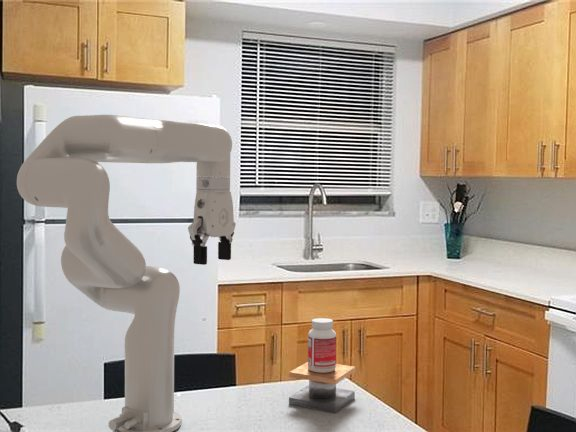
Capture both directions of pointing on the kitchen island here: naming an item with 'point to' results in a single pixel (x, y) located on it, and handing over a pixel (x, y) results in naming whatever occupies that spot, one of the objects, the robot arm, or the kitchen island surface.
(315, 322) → the pill bottle
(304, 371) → the stand
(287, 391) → the kitchen island surface
